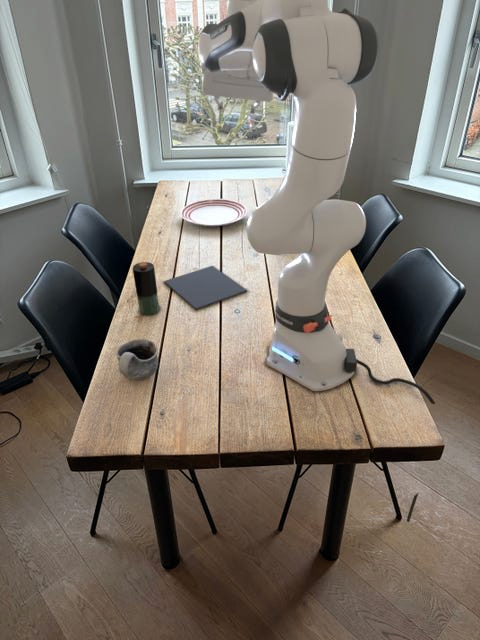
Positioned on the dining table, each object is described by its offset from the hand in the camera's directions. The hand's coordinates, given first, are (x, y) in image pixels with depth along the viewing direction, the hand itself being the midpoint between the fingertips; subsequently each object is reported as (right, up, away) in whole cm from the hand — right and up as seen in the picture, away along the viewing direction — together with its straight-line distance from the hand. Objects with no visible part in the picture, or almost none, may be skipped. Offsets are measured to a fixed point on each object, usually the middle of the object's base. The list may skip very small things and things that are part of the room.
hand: (236, 111), depth 137 cm
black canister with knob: (-25, -53, -3) cm, 59 cm away
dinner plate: (-10, -19, +58) cm, 62 cm away
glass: (-25, -58, 0) cm, 63 cm away
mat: (-10, -50, +11) cm, 52 cm away
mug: (-23, -75, -25) cm, 82 cm away
